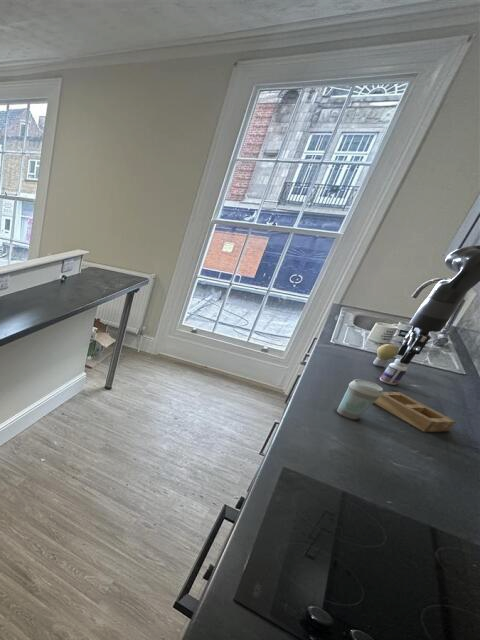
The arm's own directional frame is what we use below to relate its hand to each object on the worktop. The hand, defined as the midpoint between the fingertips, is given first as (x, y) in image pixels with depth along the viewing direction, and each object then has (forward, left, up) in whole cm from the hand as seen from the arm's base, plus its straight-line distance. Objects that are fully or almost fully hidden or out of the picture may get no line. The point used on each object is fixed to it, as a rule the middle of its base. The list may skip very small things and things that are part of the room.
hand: (402, 359), depth 135 cm
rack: (-8, +7, -19) cm, 22 cm away
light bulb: (-40, -30, -19) cm, 54 cm away
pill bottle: (-28, -16, -19) cm, 38 cm away
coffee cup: (+16, +6, -19) cm, 25 cm away
